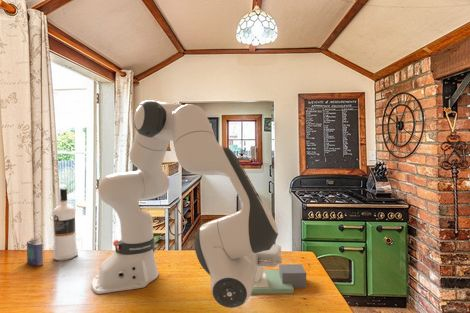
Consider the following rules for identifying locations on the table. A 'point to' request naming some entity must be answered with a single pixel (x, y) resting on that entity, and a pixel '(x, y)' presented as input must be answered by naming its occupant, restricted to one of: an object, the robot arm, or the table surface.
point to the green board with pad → (281, 280)
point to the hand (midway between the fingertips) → (247, 242)
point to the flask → (34, 253)
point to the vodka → (64, 229)
